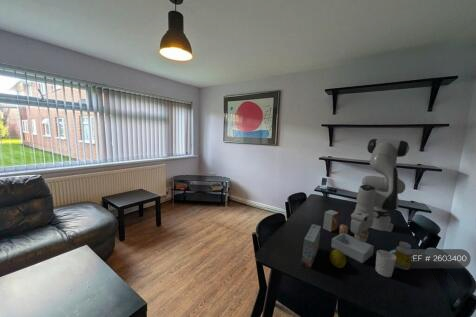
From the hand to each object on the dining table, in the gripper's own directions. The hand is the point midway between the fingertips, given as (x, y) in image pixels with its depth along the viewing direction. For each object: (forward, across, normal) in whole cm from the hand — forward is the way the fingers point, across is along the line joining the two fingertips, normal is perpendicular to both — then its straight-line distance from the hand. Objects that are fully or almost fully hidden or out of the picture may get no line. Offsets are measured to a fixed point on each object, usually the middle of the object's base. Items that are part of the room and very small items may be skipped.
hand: (360, 236), depth 110 cm
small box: (+11, -15, -26) cm, 32 cm away
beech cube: (+2, 0, 0) cm, 2 cm away
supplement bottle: (+12, -10, +17) cm, 23 cm away
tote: (+11, 0, -4) cm, 12 cm away
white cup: (+12, +5, +14) cm, 19 cm away
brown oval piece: (+11, -14, -16) cm, 24 cm away
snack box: (+12, +26, -14) cm, 32 cm away
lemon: (+12, +20, -2) cm, 23 cm away
